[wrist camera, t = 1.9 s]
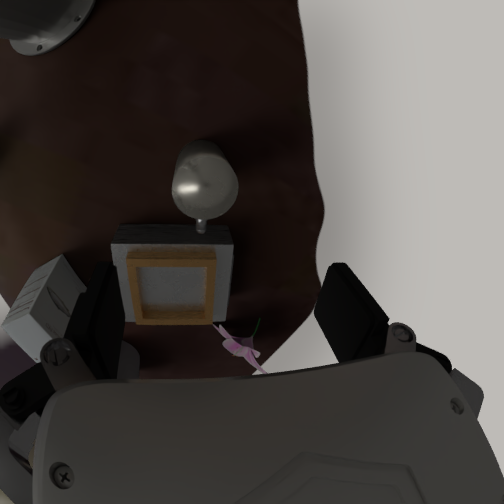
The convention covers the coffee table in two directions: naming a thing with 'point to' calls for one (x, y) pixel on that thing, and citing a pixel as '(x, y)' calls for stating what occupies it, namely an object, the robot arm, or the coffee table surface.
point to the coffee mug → (128, 362)
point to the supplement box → (44, 306)
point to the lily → (241, 346)
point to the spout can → (203, 182)
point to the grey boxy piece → (173, 273)
